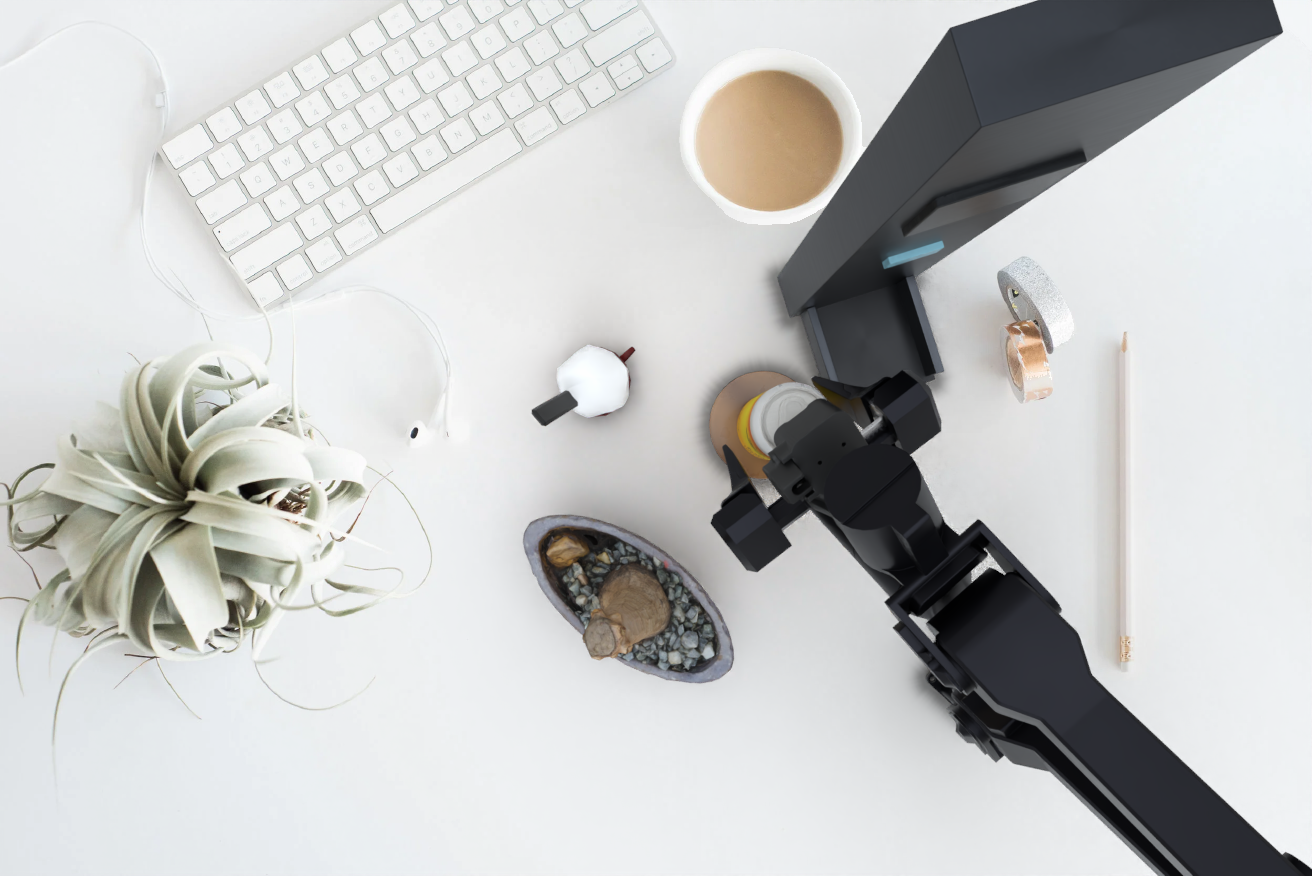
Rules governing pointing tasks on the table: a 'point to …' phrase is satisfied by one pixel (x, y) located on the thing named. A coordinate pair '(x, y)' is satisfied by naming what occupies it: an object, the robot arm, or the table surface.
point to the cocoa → (588, 385)
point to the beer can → (771, 415)
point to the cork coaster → (728, 413)
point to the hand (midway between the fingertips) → (769, 414)
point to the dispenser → (992, 154)
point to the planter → (628, 599)
